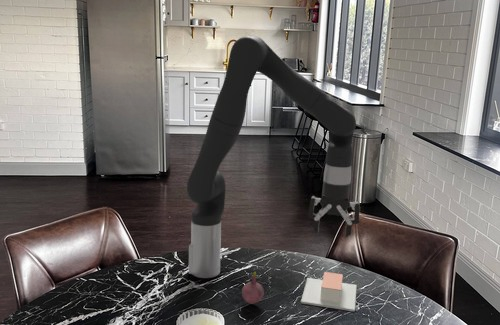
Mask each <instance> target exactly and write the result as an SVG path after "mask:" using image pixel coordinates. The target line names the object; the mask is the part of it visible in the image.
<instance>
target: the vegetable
mask: <svg viewBox="0 0 500 325" xmlns="http://www.w3.org/2000/svg"><path fill="white" fill-rule="evenodd" d="M256 280H257V272H256V271H254V272H253V275H252V278H251V281H248V282H247V283H245V284H244V285H243V286H242V290H241V295H242V298H243V300H244V301H245V302H246V303H248V304H252V305H255V304H257V303H259V302H260V301H261V300H262V299H263V297H264V295H265V291H264V290H265V289H264V288H263V286H262V285H261V284H260V283H259V282H257V281H256Z"/></svg>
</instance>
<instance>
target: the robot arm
mask: <svg viewBox="0 0 500 325" xmlns="http://www.w3.org/2000/svg"><path fill="white" fill-rule="evenodd" d="M257 72H259V73H260V74H261V75H264V76H265V77H267V78H268V79H269V80H271V81H272V82H273V83H275V85H277V86H278V87H279V88H280V90H282V91H283V93H284V94H285V95H286V96H287V97H289V99H290V100H291V101H292V102H294V104H296V105H297V106H299V108H301V109H303V110H304V111H306V113H308V114H310V115H311V116H312V117H314V118H315V119H316V120H318V121H319V123H321V124H322V125H323V126H324V127H325V128H326V129H327V130H329V131H328V145H327V149H326V156H325V158H326V159H325V167H324V171H323V181H322V182H323V184H322V191H321V198H320V197H316V196H315V195H312V196H311V198H310V202H309V207H308V215H307V216H308V219H309V218H310V219H312V220H313V231H315V233H316V234H319V231H320V219H321V218H322V217H323V216H324V215H325V214H327V215H329V216H333V215H334V216H336V217H337V216H338V217H340V216H341V217H342V218H343V220H344V221H345V223H346V230H345V238H349V236H351V234H352V227H353V225H358V224H359V221H360V207H361V206H360V204H361V203H360V201H359V200H357V201H355V202H354V201H350V191H351V180H352V161H353V140H354V139H353V138H354V132H355V130H356V127H357V120H356V117H355V115H354V113H353V111H352V110H350V109H348V108H346V107H343V106H341V105H340V104H338V103H337V102H336V101H334V100H332V98H330V96H329V95H328V94H327V93H326V92H325V91H323V90H322V89H321V88H319V87H318V86H317V85H315V84H314V83H313V82H311V81H310V80H309V79H307V78H305V77H304V76H303V75H302V74H300V73H299V71H296V70H295V69H294V68H293V67H291V66H290V65H288V63H286V62H285V61H284V60H283V59H282V58H281V57H280V56H279V55H277V53H276V52H275V51H274V50H273V49H272V48H271V46H269V45H268V44H267V43H266V42H265V40H264V39H262V38H261V37H259V36H257V35H253V34H252V35H246V36H242V37H239V38H238V39H237V40H236V41H234V43H233V45H232V46H231V48H230V53H229V57H228V62H227V66H226V72H225V76H224V79H223V80H224V81H223V82H222V86H221V88H220V91H219V94H218V96H217V99H216V101H215V103H214V104H215V105H214V108H213V110H212V113H211V116H210V119H209V122H208V125H207V130H206V132H205V136H204V138H203V141H202V143H201V144H202V145H201V147H200V151H199V153H198V156H197V158H196V162H195V163H194V166H193V168H192V170H191V172H190V175H189V177H188V179H187V183H186V193H187V196H188V198H189V200H191V202H193V203H194V204H197V205H196V206H195V208H194V209H193V210H192V212H191V215H190V216H191V217H190V218H191V219H190V220H191V223H190V226H191V228H190V229H191V232H190V238H191V241H190V242H191V243H190V244H189V245H188V274H190V275H192V276H193V277H196V278H200V279H211V278H215V277H217V276H218V275H220V273H221V251H222V250H221V242H222V239H221V238H222V216H223V214H224V211H225V199H226V198H225V197H226V182H225V177H224V176H223V174H222V173H221V172H220V171H219V168H220V166H221V164H222V162H223V161H224V160H225V158H226V157H227V155H228V154H229V153H230V151H231V150H232V149H233V147H234V145H235V144H236V142H237V140H238V137H239V135H240V134H241V133H240V132H241V129H242V127H243V124H244V120H245V116H246V112H247V110H246V109H247V103H248V102H247V100H248V94H249V91H250V88H251V85H252V83H253V80H254V78H255V77H256V75H257ZM319 203H320V205H321V209H319V211H318V212H317V213H314V211H315V206H318V204H319ZM349 208H351V209H352V210H353V211H354V217H353V218H352V217H351V216H350V213H349V212H348V209H349Z"/></svg>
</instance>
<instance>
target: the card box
mask: <svg viewBox="0 0 500 325" xmlns="http://www.w3.org/2000/svg"><path fill="white" fill-rule="evenodd" d="M343 276H344V275H343V274H342V273H335V272H329V271H324V273H323V277H322V280H323V281H322V286H321V297H320V300H324V301H331V302H338V303H340V297H341V289H342V283H343Z"/></svg>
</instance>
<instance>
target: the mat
mask: <svg viewBox="0 0 500 325" xmlns="http://www.w3.org/2000/svg"><path fill="white" fill-rule="evenodd" d="M322 281H323V279H320V278H319V279H318V278H311V277H307V279H306V282H305V285H304V289H303V293H302V297H301V300H300V304H303V305H310V306H315V307H316V306H317V307H324V308H330V309H336V310H342V311H348V312H349V311H350V312H355V311H356V300H357V286H358V285H357V284H353V283H347V282H342V289H341V297H340V303H338V302H331V301H324V300H320V297H321V286H322Z"/></svg>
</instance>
